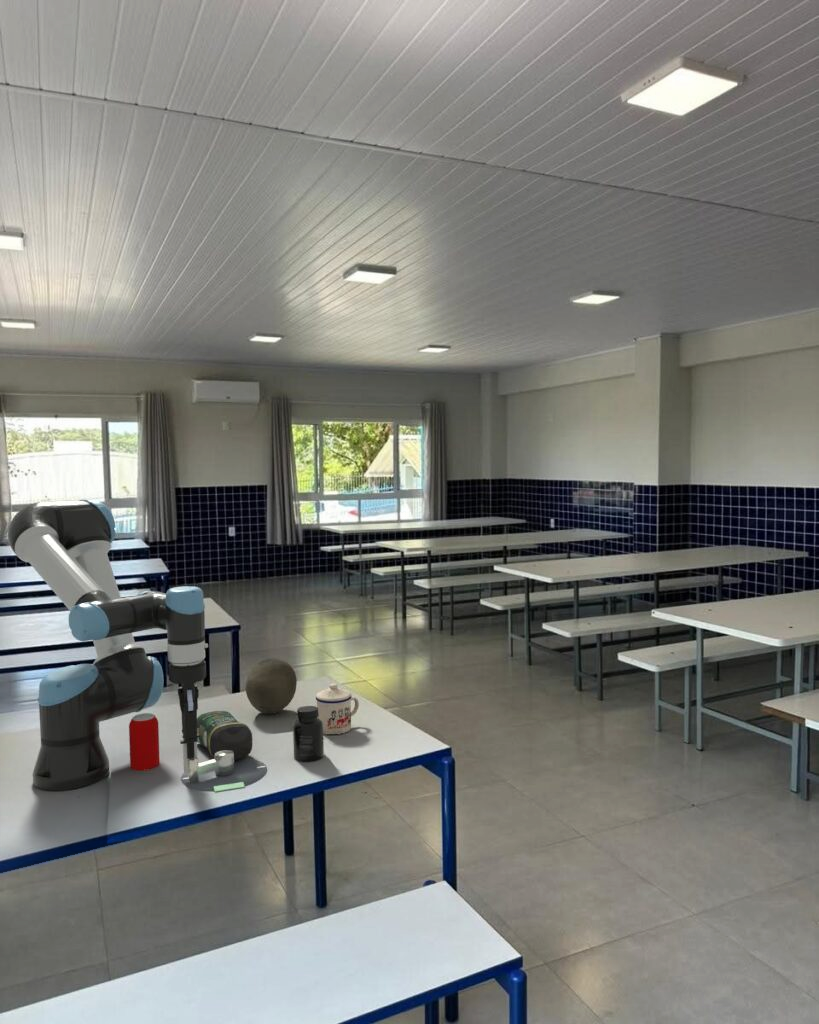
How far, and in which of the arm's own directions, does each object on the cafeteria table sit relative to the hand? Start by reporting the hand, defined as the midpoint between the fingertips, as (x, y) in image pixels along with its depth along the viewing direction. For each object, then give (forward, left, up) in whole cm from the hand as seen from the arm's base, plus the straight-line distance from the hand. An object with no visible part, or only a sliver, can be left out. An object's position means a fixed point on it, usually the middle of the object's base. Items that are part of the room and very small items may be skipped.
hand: (190, 770), depth 156 cm
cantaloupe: (+24, +39, -3) cm, 46 cm away
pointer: (+4, 0, -2) cm, 4 cm away
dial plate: (+7, +1, -3) cm, 8 cm away
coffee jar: (+7, +24, +1) cm, 25 cm away
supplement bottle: (+26, +3, -3) cm, 26 cm away
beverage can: (-9, +12, -3) cm, 15 cm away
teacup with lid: (+38, +21, -3) cm, 44 cm away
